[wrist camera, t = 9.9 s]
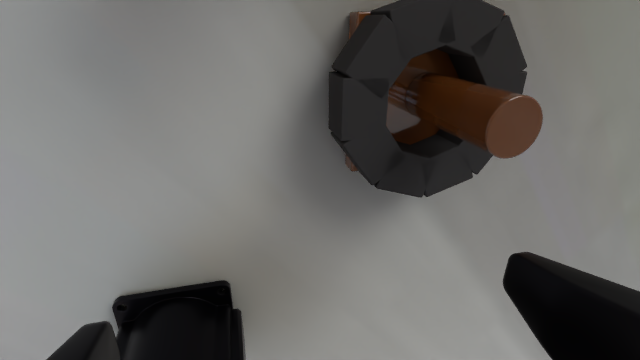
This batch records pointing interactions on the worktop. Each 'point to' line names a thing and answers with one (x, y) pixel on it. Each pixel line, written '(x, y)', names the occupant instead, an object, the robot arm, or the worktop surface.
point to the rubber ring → (385, 67)
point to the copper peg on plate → (456, 107)
